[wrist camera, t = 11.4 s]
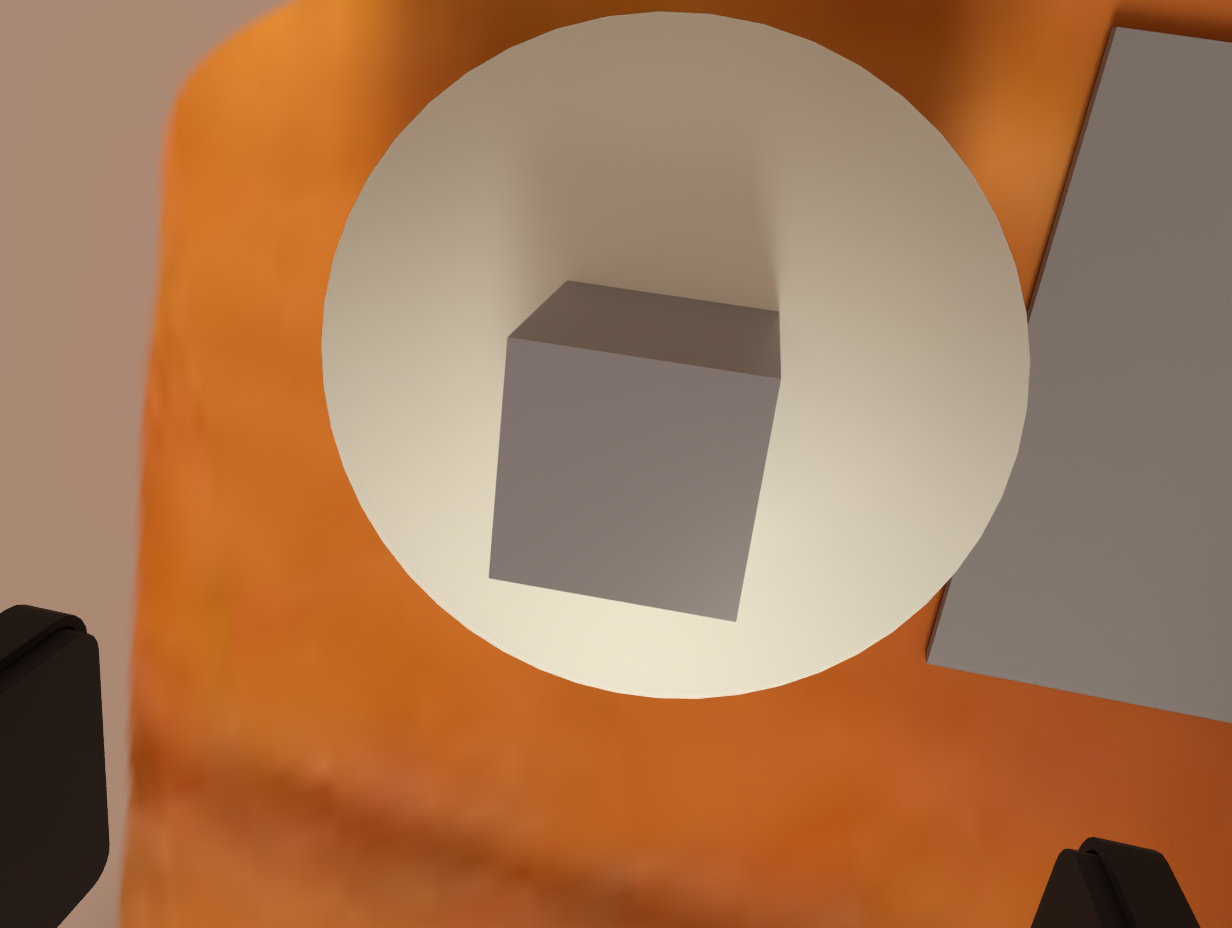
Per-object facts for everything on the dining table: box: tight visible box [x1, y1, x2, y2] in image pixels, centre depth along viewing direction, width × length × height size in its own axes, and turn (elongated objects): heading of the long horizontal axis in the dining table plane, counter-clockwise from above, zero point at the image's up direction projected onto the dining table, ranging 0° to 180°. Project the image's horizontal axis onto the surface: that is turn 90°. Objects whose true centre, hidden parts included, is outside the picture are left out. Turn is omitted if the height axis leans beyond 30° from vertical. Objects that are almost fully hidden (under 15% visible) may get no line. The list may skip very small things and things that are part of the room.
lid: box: [321, 11, 1030, 699], centre depth 19 cm, size 15×15×6 cm
